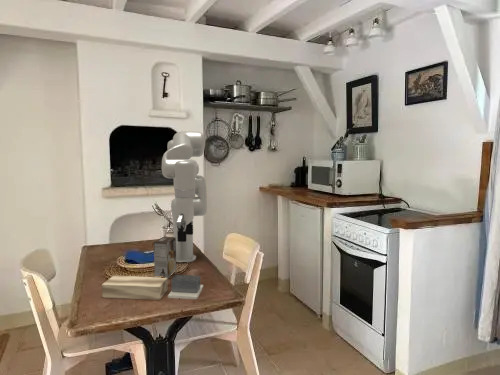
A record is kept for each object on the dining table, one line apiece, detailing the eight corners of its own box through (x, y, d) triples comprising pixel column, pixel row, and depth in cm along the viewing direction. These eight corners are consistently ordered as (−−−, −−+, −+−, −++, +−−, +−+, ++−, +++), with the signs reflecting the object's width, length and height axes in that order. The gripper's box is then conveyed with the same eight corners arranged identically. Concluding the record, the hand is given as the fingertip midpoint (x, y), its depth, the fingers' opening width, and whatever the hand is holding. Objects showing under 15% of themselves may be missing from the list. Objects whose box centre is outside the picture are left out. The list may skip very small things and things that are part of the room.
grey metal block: (175, 286, 134) (175, 274, 133) (200, 287, 133) (200, 275, 133) (171, 292, 129) (171, 279, 128) (197, 293, 128) (197, 280, 128)
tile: (176, 286, 137) (176, 283, 137) (203, 287, 136) (203, 284, 136) (168, 297, 126) (167, 295, 126) (196, 299, 125) (196, 296, 125)
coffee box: (163, 270, 154) (163, 236, 152) (176, 271, 153) (176, 237, 151) (154, 278, 145) (153, 241, 143) (168, 279, 144) (167, 242, 142)
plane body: (114, 287, 135) (113, 275, 135) (167, 289, 133) (167, 277, 133) (102, 297, 126) (102, 284, 126) (159, 300, 124) (159, 287, 124)
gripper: (181, 190, 136) (182, 231, 138) (167, 197, 118) (168, 244, 121) (200, 190, 135) (200, 232, 137) (188, 197, 118) (189, 244, 120)
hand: (185, 237), depth 129 cm, fingers open, 9 cm apart
